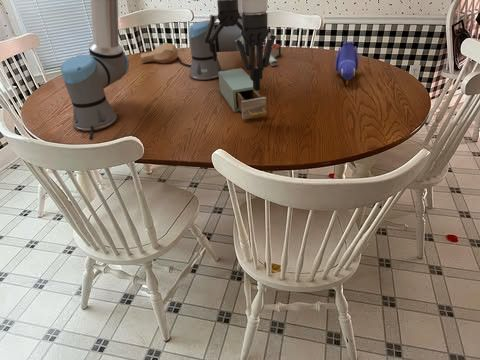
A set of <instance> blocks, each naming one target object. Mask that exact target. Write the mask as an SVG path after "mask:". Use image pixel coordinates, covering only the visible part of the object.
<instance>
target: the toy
mask: <svg viewBox="0 0 480 360" xmlns="http://www.w3.org/2000/svg"><path fill="white" fill-rule="evenodd" d="M354 44H355V42H354V41H352V40H350V41H349V42H347V41H343V43H342V47H341V46H339V47H338V50H337V52H336V55H335V60H334V69H335V71H336V72H337V73H338V74H339V75H340V76H341V78H342V79H343V80H345V85H346V86H348V85H349V81H350V80H352V79H353V77H355V75H356V72H357V71H358V69H359V65H360V59H359V58H360V57H359V52H358V48H357V46H356V45H354Z"/></svg>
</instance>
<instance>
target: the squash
mask: <svg viewBox="0 0 480 360" xmlns="http://www.w3.org/2000/svg"><path fill="white" fill-rule="evenodd" d="M155 47H156V48H154V49H153V50H151V51H150V52H144V53H141V54H140V61H141V62H142V64H146V63H149V62H157V63H160V64H170V63H172V62H173V61H175V60H176V59H177V58H178V57H179V56H178V55H179V51H178V49H177V47H176V45H175V44H173V43H168V42H164V43H162V44H160V45H158V46H155Z"/></svg>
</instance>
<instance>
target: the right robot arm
mask: <svg viewBox="0 0 480 360" xmlns="http://www.w3.org/2000/svg"><path fill="white" fill-rule="evenodd" d="M216 3H217V14H215V15H214V14H210V15H209V20H208V19H207V20H201V21H198V22H195V23H193V24H191V25H190V26H189V27H188V39H189V45H190V53H191V64H188V63H185V62H183V61H182V59H181V58H180V57H179V56H178V58H176V59H177V60H178V62H179V63H180V64H181V65H183V66H186V67H190V69H189V76H190V78H191V79H192V80H195V81H211V80H216V79H219V73H218V72H220V71H223V68H222V65H221V63H220V60H219V58H218V53H230V52H240V51H239V48H238V45H237V44H236V43H235V39H236V38H237V39H238V38H239V37H240V36H241V33H242V30H243V27H242V14H243V13H244V12H242V2H241V0H217V1H216ZM217 20H218V21H219V22H218V23H216V22H217ZM243 41H244V43H243V46H244V49H245V52H246V56H247V57H249V48H248V44H247V42H246V41H245V40H244V39H243ZM156 47H157V46H155V45H154V44H153V45H152V48H154V49H155V48H156Z"/></svg>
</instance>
